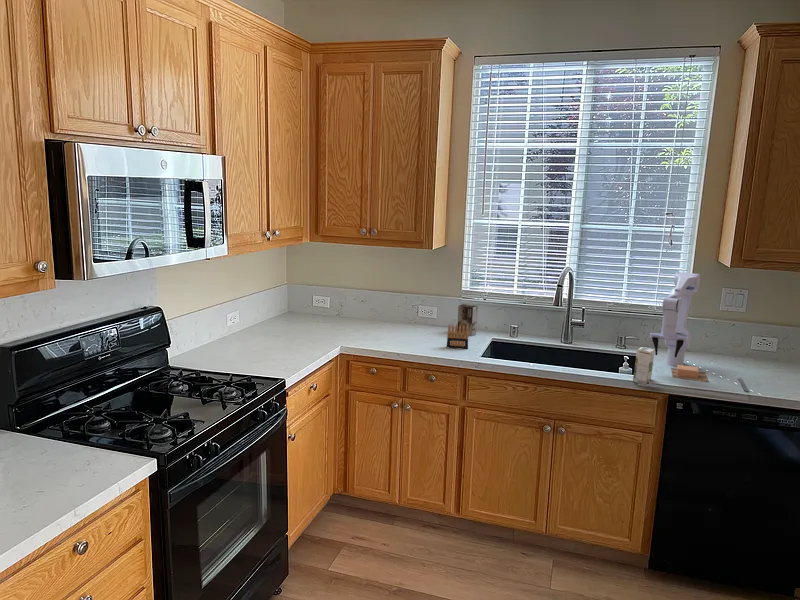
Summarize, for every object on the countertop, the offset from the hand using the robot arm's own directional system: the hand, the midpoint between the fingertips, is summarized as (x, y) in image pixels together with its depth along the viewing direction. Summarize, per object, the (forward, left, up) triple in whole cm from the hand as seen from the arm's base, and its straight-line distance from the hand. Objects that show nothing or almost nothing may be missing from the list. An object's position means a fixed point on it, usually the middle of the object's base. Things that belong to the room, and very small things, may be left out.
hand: (665, 355), depth 253 cm
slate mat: (-3, +25, -9) cm, 27 cm away
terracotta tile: (-3, +9, -8) cm, 13 cm away
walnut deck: (-3, +10, -9) cm, 14 cm away
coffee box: (-33, -99, -10) cm, 104 cm away
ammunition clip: (-2, -95, -10) cm, 95 cm away
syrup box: (+13, -9, -10) cm, 19 cm away
